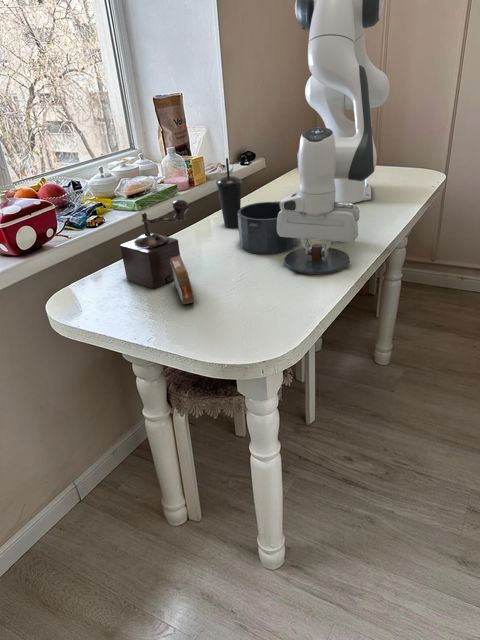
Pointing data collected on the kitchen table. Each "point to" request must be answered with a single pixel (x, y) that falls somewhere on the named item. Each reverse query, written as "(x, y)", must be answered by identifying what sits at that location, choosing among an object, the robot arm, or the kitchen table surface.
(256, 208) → the pot
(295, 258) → the lid
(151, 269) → the manual coffee grinder
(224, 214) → the drinking cup
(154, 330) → the kitchen table surface
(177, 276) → the tin
